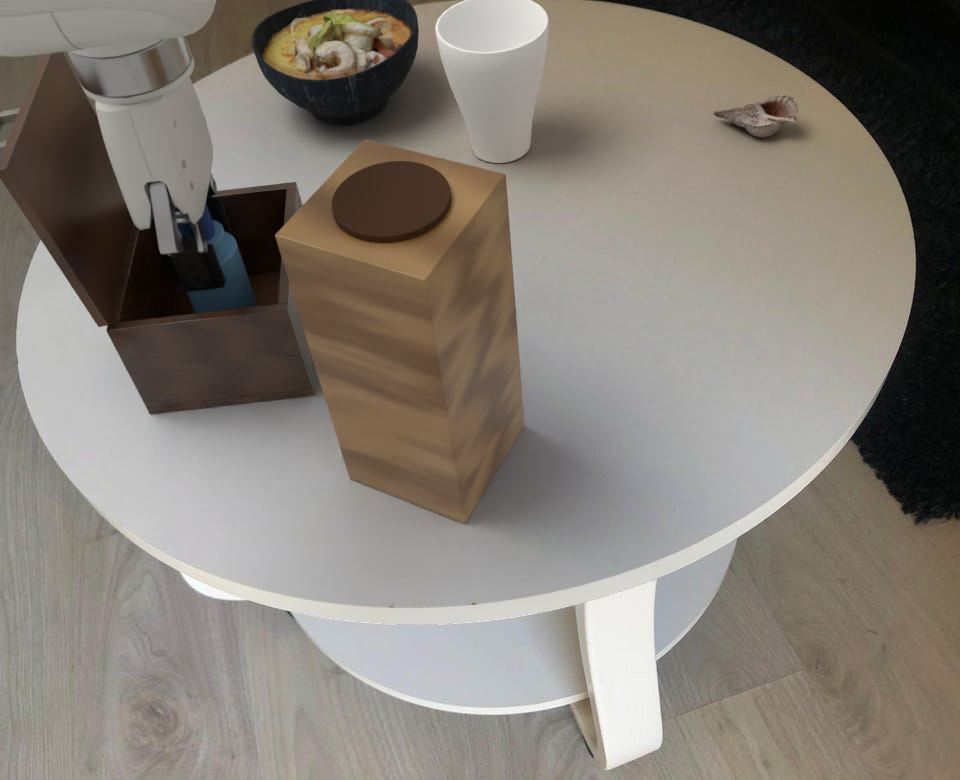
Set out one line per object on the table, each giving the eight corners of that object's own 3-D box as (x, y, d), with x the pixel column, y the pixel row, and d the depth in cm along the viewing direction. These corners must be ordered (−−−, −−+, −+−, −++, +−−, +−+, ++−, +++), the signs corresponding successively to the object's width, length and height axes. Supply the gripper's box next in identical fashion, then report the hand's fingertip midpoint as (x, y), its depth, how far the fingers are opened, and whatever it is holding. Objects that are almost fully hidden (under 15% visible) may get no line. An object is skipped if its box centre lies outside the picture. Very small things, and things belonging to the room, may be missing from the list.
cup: (572, 153, 99) (570, 28, 89) (480, 190, 97) (467, 66, 87) (520, 104, 106) (513, -17, 96) (432, 138, 103) (415, 16, 93)
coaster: (414, 255, 55) (413, 249, 55) (309, 225, 57) (308, 218, 57) (472, 182, 59) (471, 175, 58) (372, 157, 61) (371, 150, 61)
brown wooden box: (319, 267, 91) (296, 181, 84) (314, 395, 81) (287, 310, 74) (173, 284, 91) (136, 199, 84) (149, 414, 81) (105, 330, 74)
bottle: (241, 358, 83) (195, 237, 73) (194, 342, 84) (143, 221, 75) (275, 319, 85) (235, 197, 76) (229, 304, 87) (184, 183, 78)
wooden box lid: (56, 40, 73) (-14, 54, 73) (6, 168, 63) (-75, 184, 63) (139, 194, 84) (78, 206, 84) (108, 325, 73) (39, 338, 74)
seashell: (787, 144, 100) (777, 156, 97) (717, 111, 102) (705, 121, 99) (807, 103, 97) (798, 114, 94) (735, 70, 99) (723, 80, 96)
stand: (465, 524, 72) (424, 280, 54) (348, 478, 75) (274, 235, 57) (524, 425, 77) (506, 173, 59) (414, 387, 81) (364, 138, 63)
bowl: (272, 73, 114) (250, -10, 106) (420, 52, 114) (408, -33, 107) (271, 161, 103) (246, 75, 95) (435, 137, 103) (423, 49, 96)
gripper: (98, -1, 71) (176, 203, 85) (48, 134, 60) (147, 344, 74) (202, -13, 71) (263, 193, 85) (171, 120, 60) (248, 332, 73)
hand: (209, 261), depth 79 cm, fingers closed on bottle, 5 cm apart
